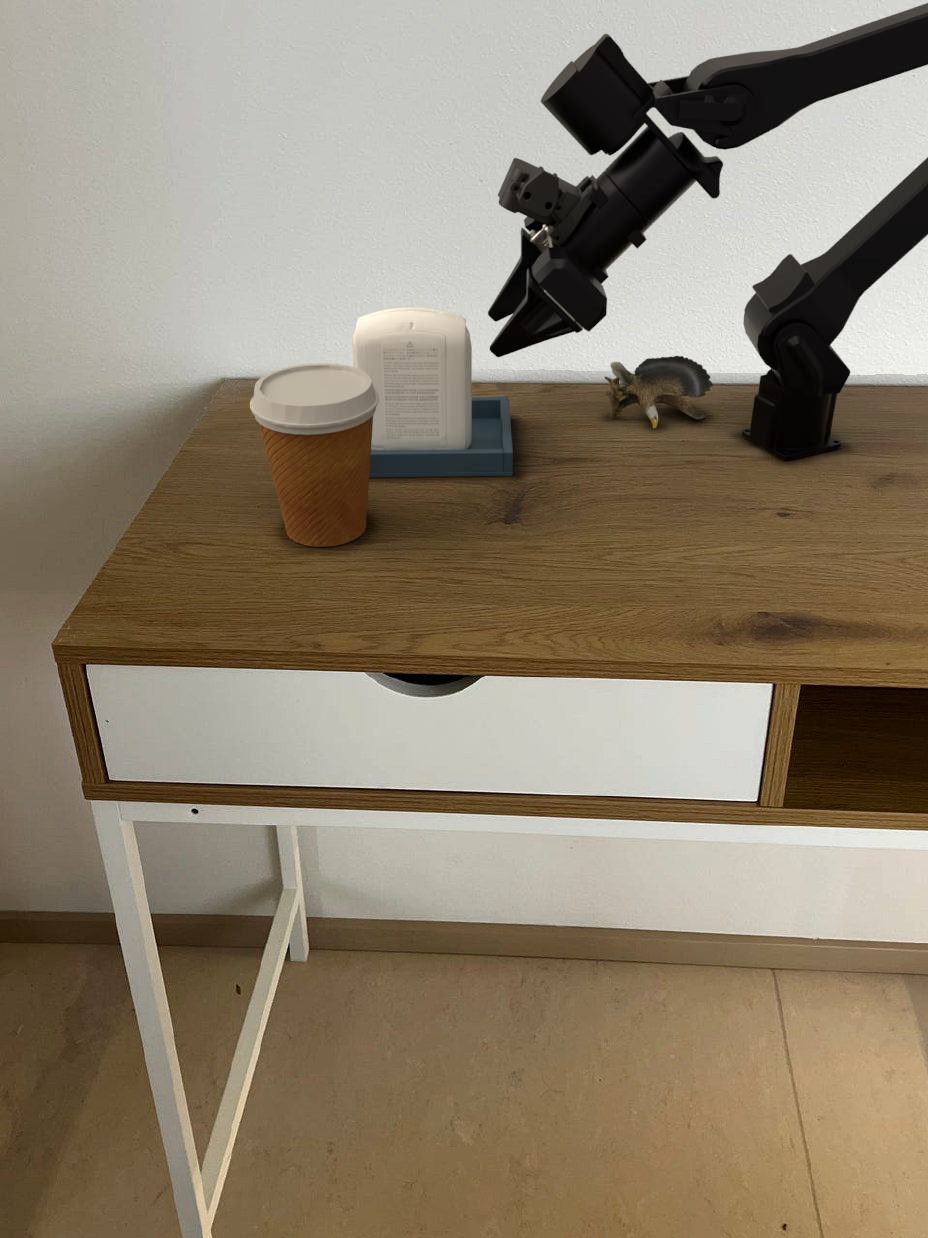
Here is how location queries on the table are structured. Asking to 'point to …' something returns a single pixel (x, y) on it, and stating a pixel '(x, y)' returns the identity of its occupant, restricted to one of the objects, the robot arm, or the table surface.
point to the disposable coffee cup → (318, 448)
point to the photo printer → (417, 377)
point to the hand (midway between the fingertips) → (492, 334)
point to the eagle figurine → (659, 385)
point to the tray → (480, 459)
